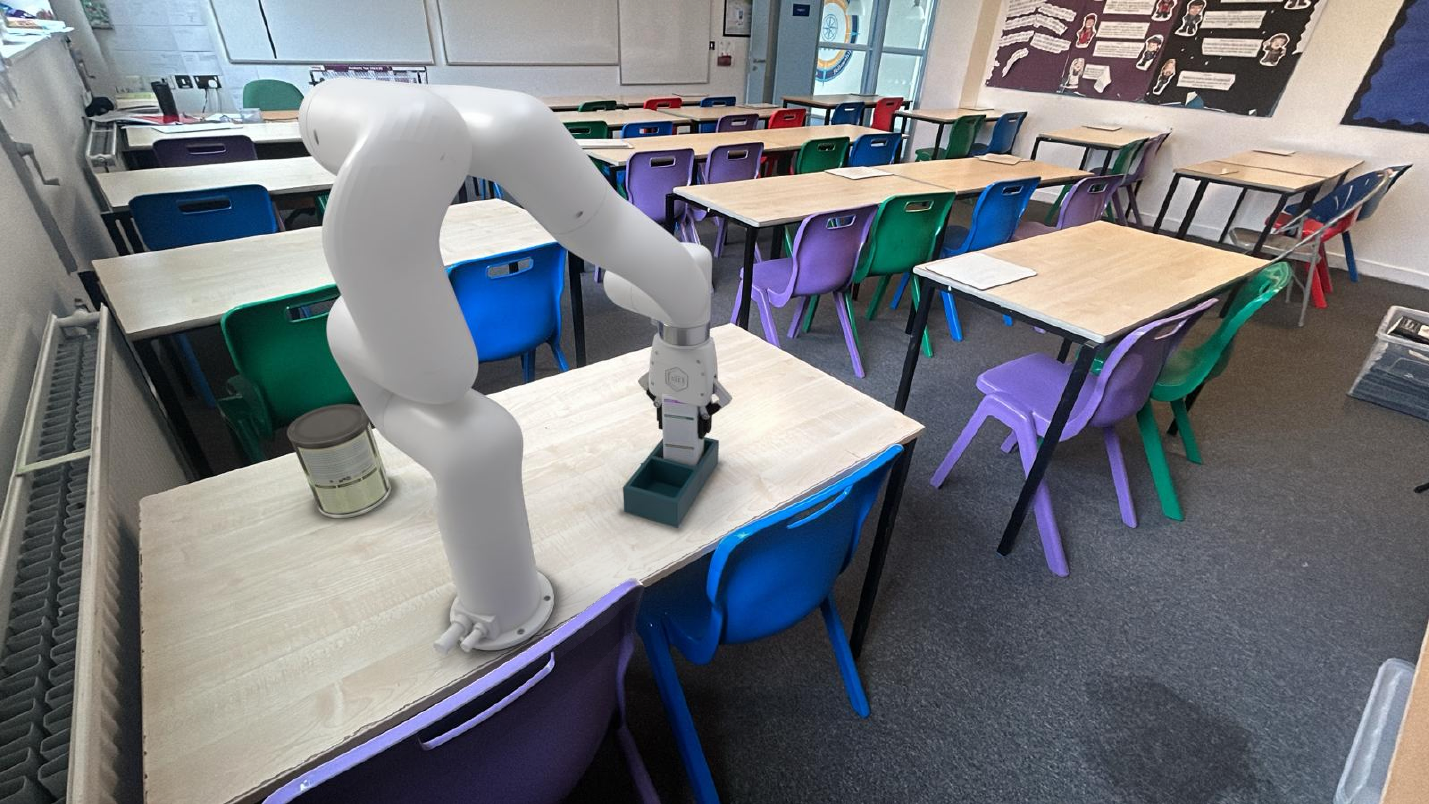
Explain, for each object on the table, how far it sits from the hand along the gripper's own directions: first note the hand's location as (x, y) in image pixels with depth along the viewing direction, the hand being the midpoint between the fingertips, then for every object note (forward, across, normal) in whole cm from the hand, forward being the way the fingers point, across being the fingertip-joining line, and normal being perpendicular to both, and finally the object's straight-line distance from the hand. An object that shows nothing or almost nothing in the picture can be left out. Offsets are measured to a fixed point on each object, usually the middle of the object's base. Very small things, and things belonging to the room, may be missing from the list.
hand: (683, 429), depth 99 cm
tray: (+9, 0, -4) cm, 10 cm away
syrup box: (+7, 0, 0) cm, 7 cm away
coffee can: (+9, -45, -26) cm, 53 cm away
